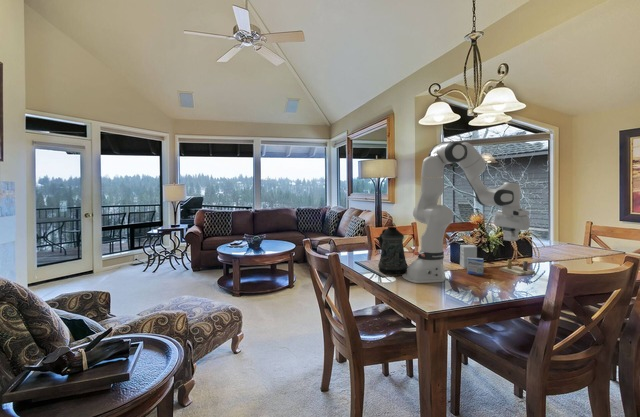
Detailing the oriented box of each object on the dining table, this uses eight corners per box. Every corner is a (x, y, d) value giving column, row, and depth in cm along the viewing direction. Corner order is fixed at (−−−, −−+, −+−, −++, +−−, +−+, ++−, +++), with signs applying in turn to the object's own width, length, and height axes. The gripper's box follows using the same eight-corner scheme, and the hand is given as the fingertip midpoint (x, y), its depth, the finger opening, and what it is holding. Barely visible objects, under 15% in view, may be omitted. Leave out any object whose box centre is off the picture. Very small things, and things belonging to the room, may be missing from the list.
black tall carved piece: (400, 276, 175) (400, 230, 173) (368, 271, 187) (368, 228, 185) (412, 269, 188) (412, 227, 186) (381, 265, 200) (381, 224, 198)
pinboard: (518, 275, 174) (518, 264, 173) (499, 269, 185) (499, 259, 184) (534, 273, 177) (535, 262, 177) (515, 267, 189) (516, 257, 188)
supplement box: (472, 265, 196) (472, 244, 195) (476, 268, 189) (477, 246, 188) (459, 265, 197) (459, 244, 196) (463, 268, 190) (464, 246, 189)
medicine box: (466, 273, 178) (467, 258, 178) (467, 271, 182) (467, 256, 182) (483, 275, 175) (483, 259, 174) (483, 273, 179) (483, 258, 178)
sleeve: (511, 241, 179) (511, 228, 178) (502, 239, 184) (502, 227, 183) (518, 240, 180) (518, 227, 180) (510, 238, 185) (510, 226, 185)
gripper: (491, 210, 189) (491, 233, 191) (522, 213, 170) (522, 239, 171) (499, 209, 191) (499, 232, 192) (532, 212, 172) (531, 238, 173)
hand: (510, 235), depth 182 cm, fingers closed on sleeve, 5 cm apart
